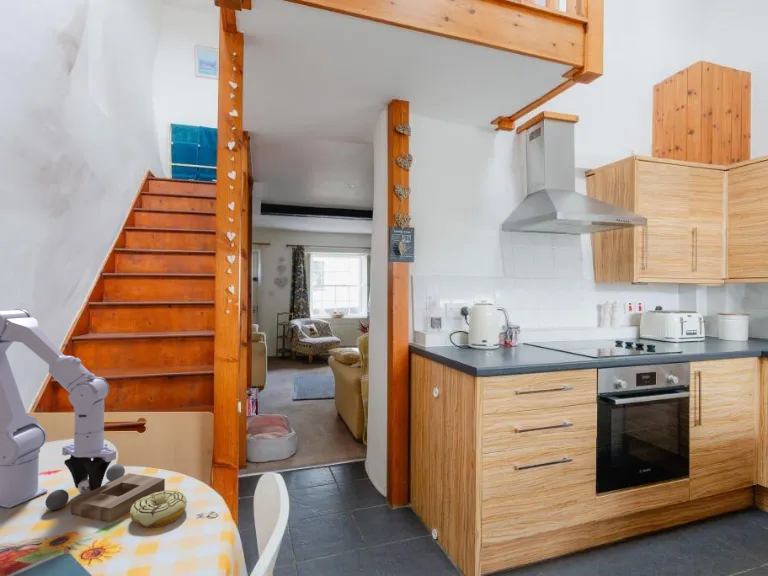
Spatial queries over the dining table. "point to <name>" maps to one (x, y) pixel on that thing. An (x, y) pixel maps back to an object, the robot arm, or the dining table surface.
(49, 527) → the dining table surface
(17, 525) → the dining table surface
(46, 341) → the robot arm
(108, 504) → the hole plate
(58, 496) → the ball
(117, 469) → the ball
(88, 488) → the steel ball
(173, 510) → the decorated donut
